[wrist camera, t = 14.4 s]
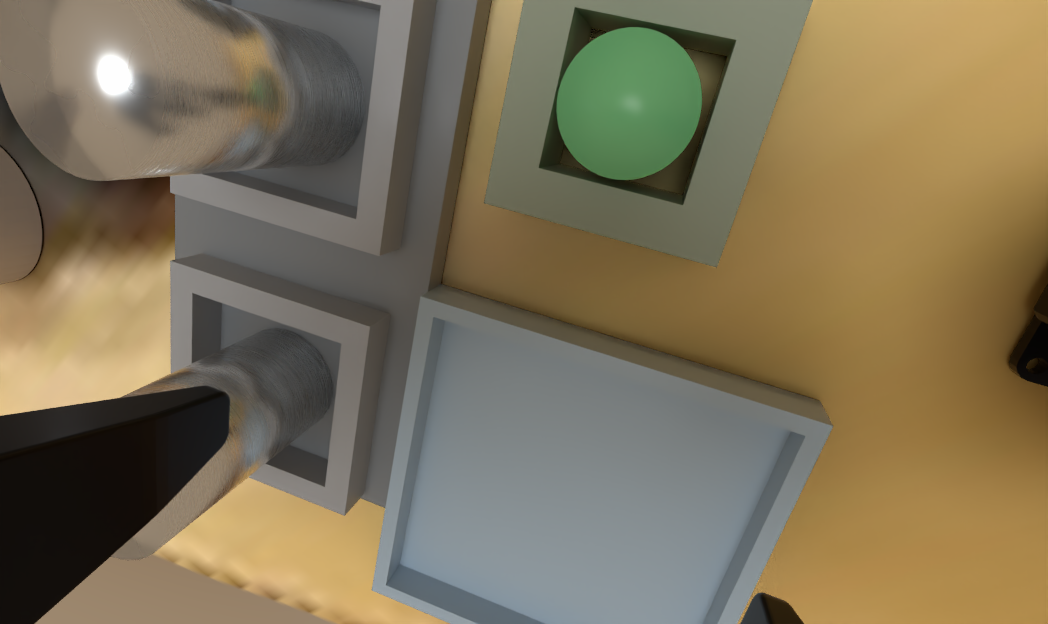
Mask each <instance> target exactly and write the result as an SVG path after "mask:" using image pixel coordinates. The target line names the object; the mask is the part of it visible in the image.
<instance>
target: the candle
mask: <svg viewBox="0 0 1048 624" xmlns="http://www.w3.org/2000/svg"><path fill="white" fill-rule="evenodd" d="M41 246H42V225H41V218H40V214H39V210H38V206H37V203H36V200H35V197H34V194H33V192H32V190H31V188H30V186H29V184H28V182H27V180H26V178H25V177H24V175H23V173H22V172H21V170H20V169H19V167H18V166H17V165H16V163H15V162H14V161H13V159H12V158H11V157H10V156H9V155H8V154H7V153H6V152H5V151H4V150H3V149H2V148H1V147H0V284H4V283H9V282H13V281H16V280H20V279H22V278H23V277H25V276H27V275H28V274H29V273H30V272H31V271H32V270H33V268H34V267H35V265H36V263H37V261H38V258H39V255H40V252H41Z"/></svg>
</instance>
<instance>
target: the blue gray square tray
mask: <svg viewBox="0 0 1048 624" xmlns="http://www.w3.org/2000/svg"><path fill="white" fill-rule="evenodd" d="M832 428H833V425H832V423H831V421H830V419H829V417H828V415H827V413H826V411H825V409H824V408H823V406H822V404H821V402H820V401H819V400H816V399H813V398H809V397H806V396H803V395H800V394H796V393H793V392H790V391H787V390H783V389H780V388H777V387H774V386H770V385H767V384H764V383H761V382H757V381H754V380H751V379H748V378H744V377H741V376H738V375H735V374H731V373H728V372H725V371H722V370H718V369H715V368H712V367H709V366H705V365H702V364H699V363H696V362H693V361H689V360H686V359H683V358H680V357H676V356H673V355H670V354H667V353H663V352H660V351H657V350H654V349H650V348H647V347H644V346H641V345H637V344H634V343H631V342H628V341H624V340H621V339H618V338H615V337H611V336H608V335H605V334H602V333H598V332H595V331H592V330H589V329H585V328H582V327H579V326H576V325H572V324H569V323H566V322H563V321H559V320H556V319H553V318H550V317H546V316H543V315H540V314H537V313H533V312H530V311H527V310H524V309H520V308H517V307H514V306H511V305H507V304H504V303H501V302H498V301H494V300H491V299H488V298H485V297H481V296H478V295H475V294H472V293H469V292H465V291H462V290H459V289H456V288H452V287H449V286H446V285H443V284H440V285H438V286H437V287H435V288H433V289H432V290H430V291H428V292H427V293H425V294H424V295H422V296H420V302H419V309H418V315H417V321H416V327H415V333H414V339H413V345H412V351H411V357H410V363H409V369H408V375H407V381H406V387H405V393H404V399H403V405H402V411H401V417H400V423H399V429H398V435H397V441H396V447H395V453H394V459H393V465H392V471H391V477H390V483H389V489H388V495H387V502H386V508H385V514H384V520H383V526H382V532H381V538H380V544H379V550H378V556H377V562H376V568H375V574H374V580H373V586H372V591H375V592H377V593H379V594H382V595H384V596H387V597H389V598H391V599H394V600H396V601H398V602H401V603H403V604H405V605H408V606H410V607H413V608H415V609H417V610H420V611H422V612H424V613H427V614H429V615H431V616H434V617H436V618H439V619H441V620H443V621H446V622H448V623H450V624H737V623H738V621H739V619H740V617H741V615H742V612H743V610H744V608H745V606H746V604H747V602H748V600H749V598H750V596H751V594H752V592H753V590H754V588H755V586H756V584H757V582H758V580H759V578H760V576H761V573H762V571H763V569H764V567H765V565H766V563H767V561H768V559H769V557H770V555H771V553H772V551H773V549H774V547H775V545H776V543H777V541H778V539H779V537H780V535H781V532H782V530H783V528H784V526H785V524H786V522H787V520H788V518H789V516H790V514H791V512H792V510H793V508H794V506H795V504H796V502H797V500H798V498H799V496H800V494H801V491H802V489H803V487H804V485H805V483H806V481H807V479H808V477H809V475H810V473H811V471H812V469H813V467H814V465H815V463H816V461H817V459H818V457H819V455H820V452H821V450H822V448H823V446H824V444H825V442H826V440H827V438H828V436H829V434H830V432H831V430H832Z"/></svg>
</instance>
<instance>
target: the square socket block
mask: <svg viewBox="0 0 1048 624" xmlns="http://www.w3.org/2000/svg"><path fill="white" fill-rule="evenodd" d="M812 1H813V0H524V2H523V7H522V12H521V17H520V22H519V27H518V32H517V38H516V43H515V48H514V53H513V58H512V63H511V68H510V73H509V78H508V83H507V88H506V94H505V99H504V104H503V109H502V114H501V119H500V124H499V129H498V134H497V139H496V144H495V150H494V155H493V160H492V165H491V170H490V175H489V180H488V185H487V190H486V195H485V201H484V203H485V204H489V205H492V206H496V207H500V208H503V209H507V210H511V211H514V212H518V213H521V214H525V215H529V216H532V217H536V218H540V219H543V220H547V221H550V222H554V223H558V224H561V225H565V226H569V227H572V228H576V229H579V230H583V231H587V232H590V233H594V234H598V235H601V236H605V237H608V238H612V239H616V240H619V241H623V242H626V243H630V244H634V245H637V246H641V247H645V248H648V249H652V250H655V251H659V252H663V253H666V254H670V255H674V256H677V257H681V258H684V259H688V260H692V261H695V262H699V263H703V264H706V265H710V266H713V267H717V266H718V263H719V260H720V258H721V255H722V252H723V249H724V246H725V244H726V241H727V238H728V235H729V233H730V230H731V227H732V224H733V221H734V219H735V216H736V213H737V210H738V207H739V205H740V202H741V199H742V196H743V194H744V191H745V188H746V185H747V182H748V180H749V177H750V174H751V171H752V168H753V166H754V163H755V160H756V157H757V155H758V152H759V149H760V146H761V143H762V141H763V138H764V135H765V132H766V129H767V127H768V124H769V121H770V118H771V116H772V113H773V110H774V107H775V104H776V102H777V99H778V96H779V93H780V91H781V88H782V85H783V82H784V79H785V77H786V74H787V71H788V68H789V65H790V63H791V60H792V57H793V54H794V52H795V49H796V46H797V43H798V40H799V38H800V35H801V32H802V29H803V26H804V24H805V21H806V18H807V15H808V13H809V10H810V7H811V4H812ZM627 27H641V28H648V29H652V30H655V31H658V32H660V33H663V34H665V35H667V36H668V37H670V38H671V39H673V40H675V41H676V42H677V43H678V44H679V45H680V46H681V47H685V48H690V49H695V50H699V51H704V52H709V53H714V54H719V55H723V56H727V59H726V62H725V65H724V68H723V71H722V75H721V78H720V81H719V84H718V87H717V90H716V93H715V96H714V99H713V103H712V106H711V109H710V112H709V115H708V118H707V121H706V124H705V127H704V131H703V134H702V137H701V140H700V143H699V146H698V149H697V152H696V155H695V159H694V162H693V165H692V168H691V171H690V174H689V177H688V180H687V184H686V187H685V190H684V193H683V195H680V194H676V193H672V192H668V191H665V190H661V189H657V188H653V187H649V186H645V185H641V184H637V183H633V182H629V181H626V180H615V179H610V178H606V177H603V176H600V175H598V174H595V173H593V172H590V171H586V170H583V169H579V168H575V167H571V166H567V165H563V164H560V159H561V155H562V151H563V147H564V141H563V139H562V136H561V133H560V130H559V126H558V121H557V97H558V91H559V88H560V84H561V81H562V78H563V76H564V74H565V72H566V70H567V68H568V66H569V65H570V63H571V62H572V60H573V59H574V58H575V56H576V55H577V54H578V53H579V52H580V51H581V50H582V49H583V48H584V47H585V46H586V45H587V44H588V42H589V38H590V33H591V29H592V28H594V29H599V30H604V31H608V32H610V31H613V30H616V29H621V28H627Z"/></svg>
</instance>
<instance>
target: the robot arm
mask: <svg viewBox="0 0 1048 624" xmlns="http://www.w3.org/2000/svg"><path fill="white" fill-rule="evenodd" d="M1034 311H1035V316H1034V318H1033V319H1032V321H1031V323H1030V324H1029V326H1028V328H1027V329H1026V331H1025V333H1024V334H1023V336H1022V338H1021V340H1020V341H1019V343H1018V345H1017V346H1016V348H1015V350H1014V351H1013V353H1012V355H1011V357H1010V360H1009V365H1010V368H1011V370H1012V371H1013V372H1014V373H1015V374H1017V375H1018V376H1020V377H1021V378H1023V379H1025V380H1027V381H1030V382H1033V383H1037V384H1040V385H1044V386H1047V387H1048V285H1047V287H1046V288H1045V290H1044V292H1043V293H1042V295H1041V297H1040V299H1039V300H1038V302H1037V304H1036V305H1035V307H1034ZM1035 358H1039V359H1040V361H1039V364H1038V365H1037V366H1036V367H1034V368H1031V369H1027V368H1026V366H1027V363H1028V362H1029V361H1030V360H1032V359H1035ZM229 419H230V398H229V395H228V394H227V393H226V392H224V391H221V390H219V389H216V388H213V387H211V386H205V385H204V386H197V387H190V388H183V389H177V390H170V391H163V392H157V393H150V394H143V395H137V396H130V397H123V398H117V399H110V400H103V401H97V402H90V403H83V404H77V405H70V406H64V407H57V408H50V409H44V410H37V411H30V412H24V413H17V414H10V415H4V416H0V624H35V623H36V622H37V621H38V620H39V619H40V618H41V617H42V616H43V615H45V614H46V613H47V612H48V611H49V610H50V609H52V608H53V607H54V606H55V605H56V604H57V603H58V602H59V601H61V600H62V599H63V598H64V597H65V596H66V595H67V594H69V593H70V592H71V591H72V590H73V589H74V588H75V587H76V586H78V585H79V584H80V583H81V582H82V581H83V580H84V579H86V578H87V577H88V576H89V575H90V574H91V573H92V572H93V571H95V570H96V569H97V568H98V567H99V566H100V565H101V564H103V563H104V562H105V561H106V560H107V559H108V558H109V557H111V556H112V555H113V554H114V553H115V552H116V551H117V550H119V549H120V548H121V547H122V546H123V545H124V544H125V543H126V542H128V541H129V540H130V539H131V538H132V537H133V536H134V535H136V534H137V533H138V532H139V531H140V530H141V529H142V528H143V527H145V526H146V525H147V524H148V523H149V522H150V521H151V520H152V519H153V518H154V517H155V516H157V515H158V514H159V513H160V512H161V511H162V510H163V509H164V508H165V507H166V506H167V505H168V504H169V502H170V501H171V500H172V499H173V498H174V497H175V496H176V495H177V494H178V493H179V492H180V491H181V490H182V489H183V488H184V487H185V486H186V485H187V484H188V482H189V481H190V480H191V479H192V478H193V477H194V476H195V475H196V474H197V473H198V472H199V471H200V470H201V469H202V468H203V467H204V466H205V465H206V464H207V462H208V461H209V460H210V459H211V458H212V457H213V456H214V455H215V454H216V453H217V452H218V451H219V450H220V449H221V448H222V446H223V445H224V444H225V442H226V440H227V438H228V434H229ZM741 624H804V623H803V622H802V620H801V619H800V618H799V616H798V615H797V614H796V612H795V611H794V609H793V608H792V607H791V606H790V605H789V603H787V602H786V601H784V600H781V599H779V598H776V597H773V596H771V595H768V594H765V593H758V594H756V595H755V596H754V598H753V599H752V601H751V603H750V605H749V607H748V609H747V611H746V614H745V616H744V618H743V620H742V622H741Z"/></svg>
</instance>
